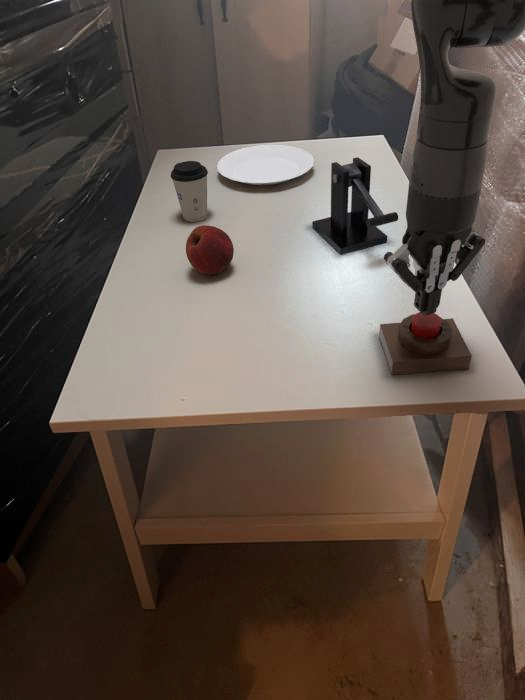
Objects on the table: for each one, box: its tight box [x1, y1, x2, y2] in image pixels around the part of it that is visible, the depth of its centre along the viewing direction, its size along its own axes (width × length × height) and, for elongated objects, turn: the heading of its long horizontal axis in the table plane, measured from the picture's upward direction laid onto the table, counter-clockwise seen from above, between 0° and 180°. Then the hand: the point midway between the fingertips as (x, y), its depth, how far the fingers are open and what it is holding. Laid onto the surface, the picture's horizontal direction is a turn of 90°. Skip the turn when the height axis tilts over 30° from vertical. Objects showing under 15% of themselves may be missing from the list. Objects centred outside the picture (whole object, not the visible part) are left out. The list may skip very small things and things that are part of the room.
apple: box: [185, 224, 235, 276], centre depth 95 cm, size 7×8×8 cm
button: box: [411, 311, 442, 339], centre depth 75 cm, size 4×4×2 cm
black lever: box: [341, 162, 399, 228], centre depth 94 cm, size 13×5×2 cm, turn 22°
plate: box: [216, 144, 315, 186], centre depth 126 cm, size 21×21×2 cm
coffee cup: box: [170, 160, 209, 223], centre depth 110 cm, size 7×7×10 cm
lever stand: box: [311, 156, 388, 255], centre depth 100 cm, size 11×9×13 cm
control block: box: [378, 313, 473, 376], centre depth 77 cm, size 10×8×4 cm
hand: (425, 310), depth 74 cm, fingers closed
